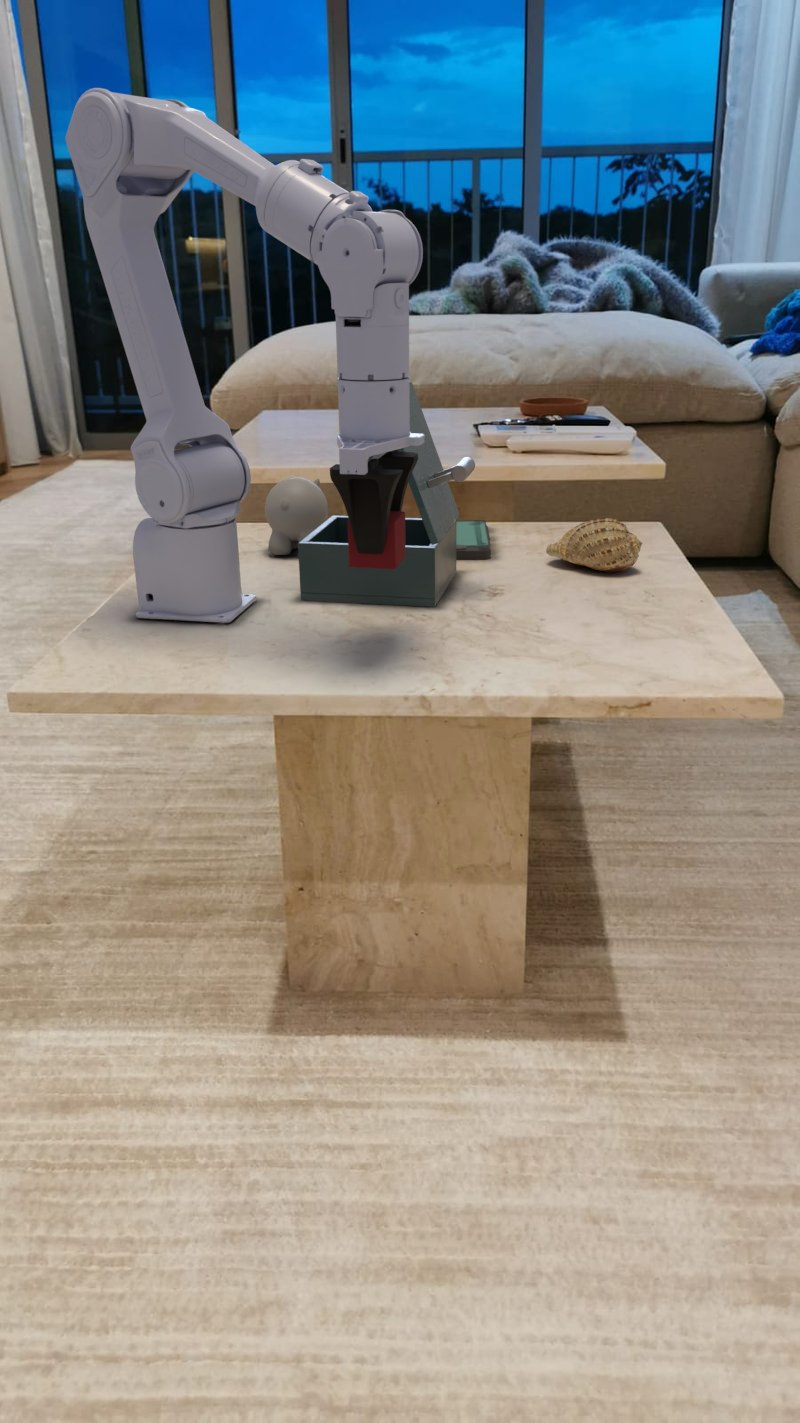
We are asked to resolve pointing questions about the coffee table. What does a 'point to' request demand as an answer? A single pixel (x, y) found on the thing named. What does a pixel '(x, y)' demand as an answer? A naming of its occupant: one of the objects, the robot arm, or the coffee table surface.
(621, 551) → the seashell
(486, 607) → the coffee table surface
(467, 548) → the smartphone
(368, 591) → the grey-green open box
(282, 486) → the chubby cartoon animal
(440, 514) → the lid
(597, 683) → the coffee table surface
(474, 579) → the coffee table surface
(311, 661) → the coffee table surface
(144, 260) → the robot arm
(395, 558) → the block
